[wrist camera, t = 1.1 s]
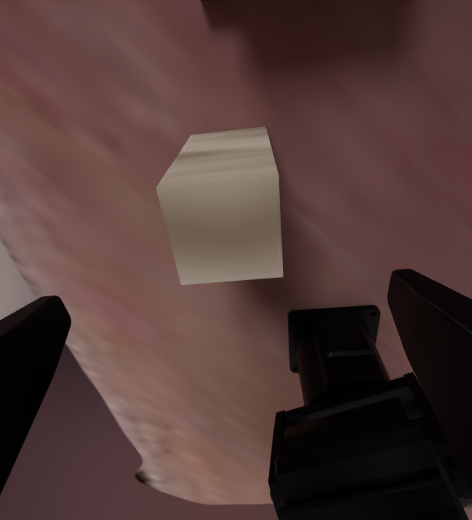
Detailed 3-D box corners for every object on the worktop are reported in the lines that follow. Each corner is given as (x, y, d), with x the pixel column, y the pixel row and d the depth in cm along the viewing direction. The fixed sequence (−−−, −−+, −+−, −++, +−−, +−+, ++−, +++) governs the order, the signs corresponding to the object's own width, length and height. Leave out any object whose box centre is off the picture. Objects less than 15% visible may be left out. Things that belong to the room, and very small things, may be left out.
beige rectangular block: (270, 197, 19) (283, 276, 12) (203, 204, 19) (181, 285, 13) (265, 126, 17) (278, 175, 10) (191, 135, 17) (155, 187, 11)
